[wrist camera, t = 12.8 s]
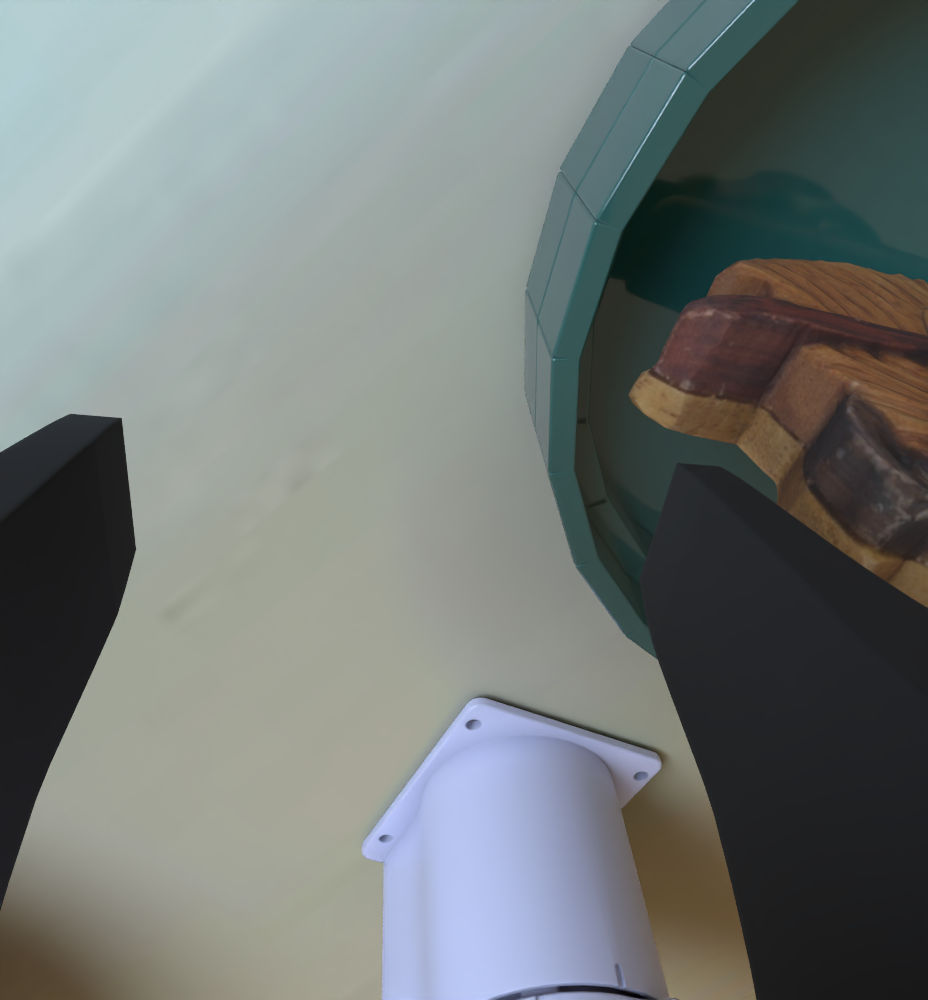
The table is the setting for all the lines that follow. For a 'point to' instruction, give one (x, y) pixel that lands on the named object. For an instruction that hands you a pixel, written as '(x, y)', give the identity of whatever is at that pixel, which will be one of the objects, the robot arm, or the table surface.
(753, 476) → the teal bowl
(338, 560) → the table surface
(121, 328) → the table surface
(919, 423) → the wooden carving
